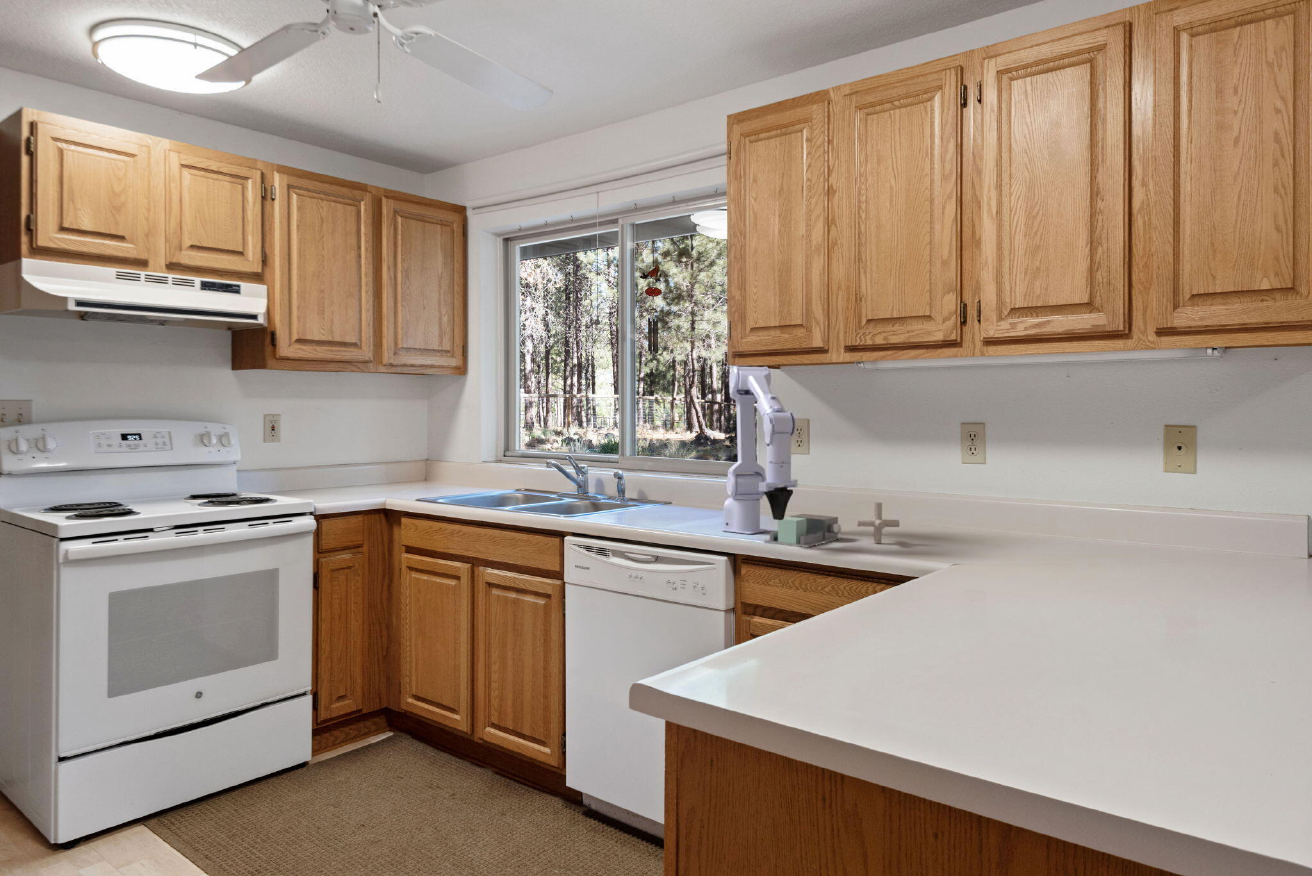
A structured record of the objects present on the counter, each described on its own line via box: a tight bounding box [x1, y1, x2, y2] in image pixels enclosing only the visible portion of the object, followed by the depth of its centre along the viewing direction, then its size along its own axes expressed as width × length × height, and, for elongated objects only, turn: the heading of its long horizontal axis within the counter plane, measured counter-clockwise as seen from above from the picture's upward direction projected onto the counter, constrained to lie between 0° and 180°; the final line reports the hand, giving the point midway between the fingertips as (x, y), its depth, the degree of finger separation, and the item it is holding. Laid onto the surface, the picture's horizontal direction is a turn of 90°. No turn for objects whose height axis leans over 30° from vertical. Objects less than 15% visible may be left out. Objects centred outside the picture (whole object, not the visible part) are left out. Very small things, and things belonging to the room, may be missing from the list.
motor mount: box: [763, 513, 843, 548], centre depth 207 cm, size 13×18×6 cm
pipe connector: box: [856, 501, 901, 544], centre depth 203 cm, size 10×10×10 cm
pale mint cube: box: [777, 516, 806, 543], centre depth 203 cm, size 5×5×6 cm
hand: (778, 519), depth 197 cm, fingers closed
